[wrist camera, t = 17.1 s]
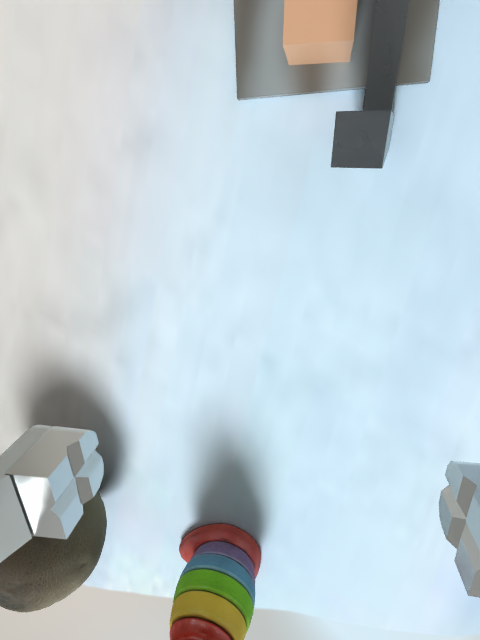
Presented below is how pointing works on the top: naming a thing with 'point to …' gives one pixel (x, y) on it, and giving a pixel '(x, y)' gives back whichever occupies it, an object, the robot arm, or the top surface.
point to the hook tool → (374, 94)
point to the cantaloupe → (53, 563)
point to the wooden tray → (284, 80)
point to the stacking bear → (215, 584)
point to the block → (318, 30)
